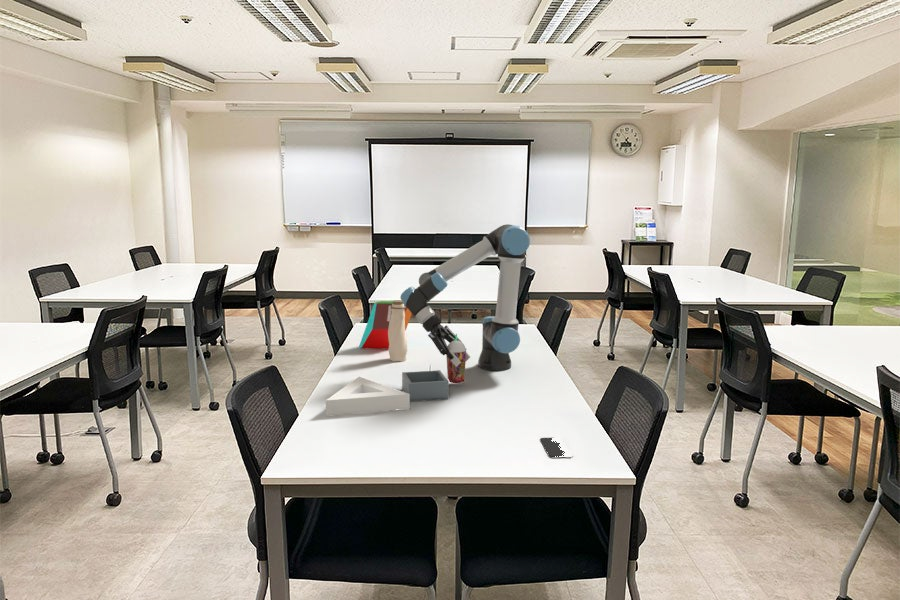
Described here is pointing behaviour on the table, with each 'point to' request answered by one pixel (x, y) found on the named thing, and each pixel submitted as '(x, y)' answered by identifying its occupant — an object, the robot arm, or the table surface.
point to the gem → (380, 326)
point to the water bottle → (397, 331)
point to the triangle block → (366, 398)
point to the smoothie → (459, 372)
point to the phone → (552, 447)
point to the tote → (425, 385)
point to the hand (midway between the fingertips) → (463, 361)
